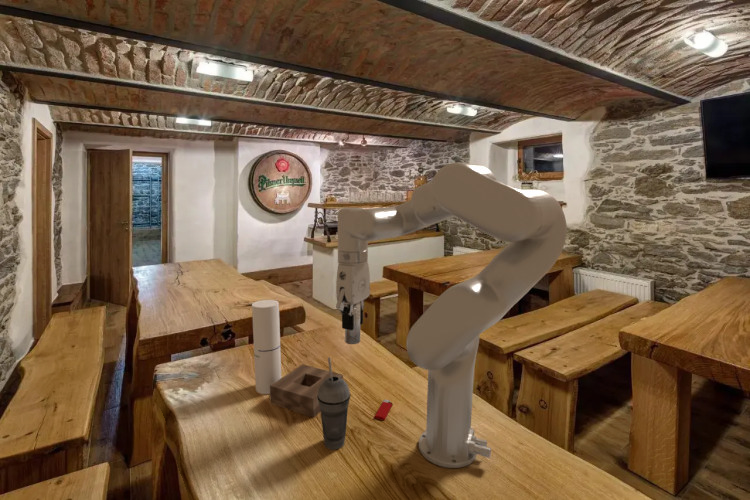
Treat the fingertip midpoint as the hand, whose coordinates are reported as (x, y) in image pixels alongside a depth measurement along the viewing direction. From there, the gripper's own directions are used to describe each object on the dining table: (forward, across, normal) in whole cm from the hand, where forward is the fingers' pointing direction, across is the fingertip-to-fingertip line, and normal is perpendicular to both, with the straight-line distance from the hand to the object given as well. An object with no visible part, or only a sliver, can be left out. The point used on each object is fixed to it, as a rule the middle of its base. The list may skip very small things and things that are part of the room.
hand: (352, 325), depth 99 cm
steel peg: (+4, 0, 0) cm, 4 cm away
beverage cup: (+21, -17, -5) cm, 28 cm away
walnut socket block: (+21, -4, +12) cm, 25 cm away
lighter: (+22, 0, -9) cm, 24 cm away
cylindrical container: (+22, -5, +25) cm, 33 cm away
